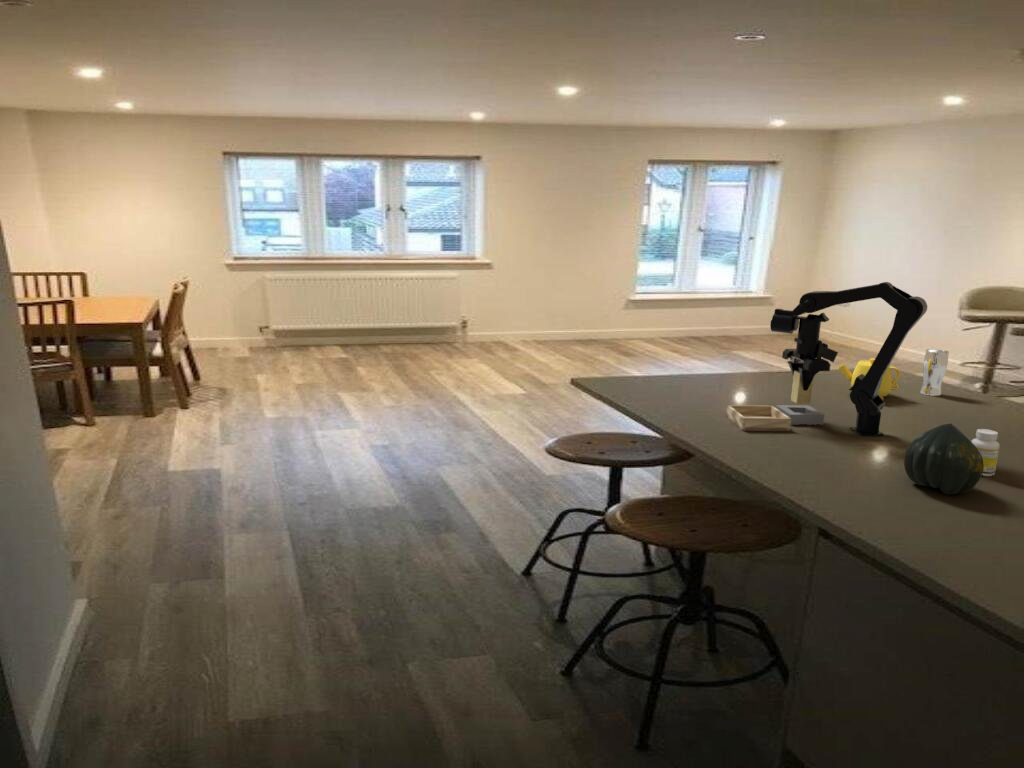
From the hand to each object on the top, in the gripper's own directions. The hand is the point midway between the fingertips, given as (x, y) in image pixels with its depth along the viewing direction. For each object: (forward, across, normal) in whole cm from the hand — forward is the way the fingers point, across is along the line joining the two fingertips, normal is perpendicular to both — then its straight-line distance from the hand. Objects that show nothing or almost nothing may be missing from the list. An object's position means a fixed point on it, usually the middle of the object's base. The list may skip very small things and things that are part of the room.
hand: (802, 388), depth 206 cm
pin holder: (+10, 0, 0) cm, 10 cm away
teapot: (+10, +30, -36) cm, 48 cm away
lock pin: (+4, 0, 0) cm, 4 cm away
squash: (+10, -52, -9) cm, 54 cm away
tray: (+10, -4, +14) cm, 17 cm away
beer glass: (+10, +32, -60) cm, 69 cm away
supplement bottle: (+10, -43, -25) cm, 51 cm away
